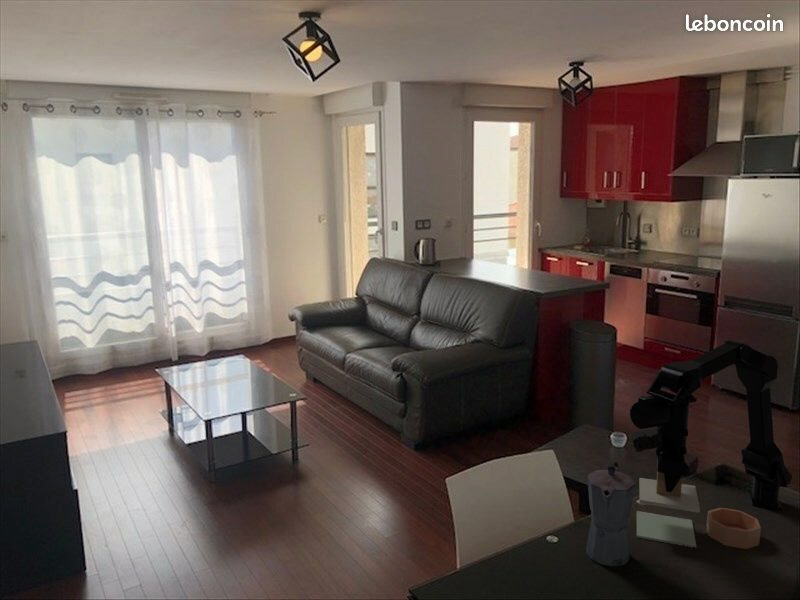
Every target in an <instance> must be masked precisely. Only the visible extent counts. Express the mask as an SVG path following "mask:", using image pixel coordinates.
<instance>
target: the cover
mask: <svg viewBox="0 0 800 600" xmlns="http://www.w3.org/2000/svg"><path fill="white" fill-rule="evenodd" d="M638 485H639V504H642V505H648V506H655V507H660V508H668V509H673V510H678V511H679V510H680V511H686V512H693V513H701V508H700V504H699V499H698V494H697V488H696V486H695V485H691V484H684V483H683V476H682V477H681V478H680V480H679V481H678V483H677V484H676V486H675V488H674V489H673V491H672V492H667V491H666V486H665V478H664V473H661V472H658V471H657V470H656V479H652V478H651V479H650V478H643V477H639V483H638Z"/></svg>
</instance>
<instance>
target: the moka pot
mask: <svg viewBox="0 0 800 600" xmlns="http://www.w3.org/2000/svg"><path fill="white" fill-rule="evenodd" d="M586 479H587V488H588V489H587V491H588V501H589V502H588V503H589V509H590V511H591V521H590V526H589V527H590V528H589V532H588V538H587V542H586V548H585V553H586V555H587V556H588V558H589V559H590V560H592V561H593V562H595V563H597V564H599V565H603V566H606V567H621V566H623V565H626V564H627V563H628V562H629V561H630V558H631V555H630V554H631V552H630V543H629V533H628V518H629V517H630V516H631V511H632V506H633V502H634V496H635V492H636V486H637V484H636V482H635V480H634V479H633V478H632V476H631V475H629V474H626V473H624V472H621V471H620V468H619V464H618V462H614V463H613V465H611V466H607V469H597V470H594V471H593V472H591V473H589V474H588V475H587V477H586Z"/></svg>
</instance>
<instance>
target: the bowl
mask: <svg viewBox="0 0 800 600" xmlns="http://www.w3.org/2000/svg"><path fill="white" fill-rule="evenodd" d="M706 516H707V518H706V527H707V528H706V532H707V535H708V537H709V536H710V537H709V538H711V539H712V538H713V540H714V539H715V540H714V541H716V540H717V541H716V542H718V541H719V542H718V543H720V544H721V543H722V545H723V546H725V545H726V547H732V548H738V549H744V550H748V549H751V548H754V547H757V546H760V539H761V530H762V528H761V525H760V524H761V523H760V522H759V520H758V518H756V517H755V516H752V515H750V514H748V513H745V512H744V511H742V510H739V509H732V508H724V507H718V508H715V509H710V510H708V511H707V515H706Z"/></svg>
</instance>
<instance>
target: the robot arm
mask: <svg viewBox="0 0 800 600" xmlns="http://www.w3.org/2000/svg"><path fill="white" fill-rule="evenodd" d="M730 366H735V370H736V375H737V378H738V379H739V381H740V382H741V383H742V385H743V386H744V388H745V391H746V403H747V415H748V416H747V417H748V418H747V419H748V429H749V438H750V439H749V443H748V444H747V445H746V447H745V448H743V449H741V455H742V456H741V457H742V461H741V464H743V466H744V470H745V475H749V476H752V477H753V485H752V492H748V497H749V499H750V502H751V504H752V506H755V507H762V508H768V509H774V510H779V511H782V510H783V505H782V504H781V502H780V494H781V493H780V491H781V487H782V488H787V487H788V485H790V484H791V481H792V478H793V475H792V474H791V473H790V471H789V469H787V467H786V466H785V461H784V456H783V453H782V451H781V450H780V449H779V447H778V446H777V444H776V443H775V439H774V428H773V427H774V425H773V414H772V412H773V411H772V410H773V409H772V399H771V398H772V397H771V388H772V386H773V385H774V383H775V382H776V380H777V378H778V370H779V369H778V368H779V366H778V361H777V358H775V357H774V356H773V355H770V354H766V353H762V352H760V351H758V350H756V349H755V348H753V347H751V346H750V345H748V344H746V343H745V342H740V341H736V340H731V339H730V340H724V342H722V344H720V345H719V346H716V347H715V348H713V349H711V350H709V351H706V352H705V353H702V354H700V355H698V356H697V357H695V358H692V359H690V360H687V361H686V360H684V361H675V362H671V363H667V364H664V365H662V367H661V368H659V371H658V373H657V374H656V376H655V378H654V379H653V381H652V383H651V385H650V386H649V387H648V390H647V391H646V394H647V396H645V395H643V396H638V399H637V400H638V401H637V402H635V403H633V404H632V406H631V408H630V410H629V416H630V421H631V422H632V423H633V425H634V426H635V428H637V429H639V430H638V431H633V432H632V433H631V435H630V436H631V438H630V439H631V442H632V444H633V445H632V446H633V448H634V450H635V452H636V453H642V452H643V451H647V450H648V451H649V450H653V449H655V455H656V456H657V458H656V472H657V471H658V472H661V473H664V478H665V486H666V491H667V492H672V491H673V489H674V488H675V486H676V484H677V483H678V481H679V480H680V478H681V477H682V478H683V477H688V476H690V467H691V466H690V461H689V460H688V459H687V457H686V456H685V455H687V451H688V450H687V441H688V440H687V439H688V438H687V437H689V430H688V427H689V426H688V424H689V413H690V404H691V403H696V402H697V401H698V399H697V398H696V397H695V396H694V395H693V393H695V392H696V391H697V390H699V389H700V388H701V387H702V384H703V381H704V380H705V379H707V378H709V377H711V376H713V375H715V374H717V373H719V372H721V371H723V370H725V369H727V368H729V367H730ZM668 391H669V392H668ZM655 427H656V428H655Z"/></svg>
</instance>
